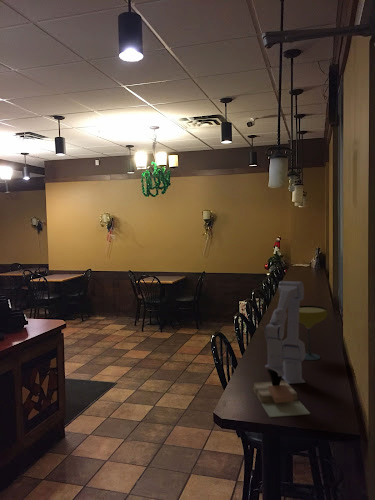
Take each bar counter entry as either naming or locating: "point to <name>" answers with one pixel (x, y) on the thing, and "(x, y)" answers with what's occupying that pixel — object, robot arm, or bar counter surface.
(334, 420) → the bar counter surface
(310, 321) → the cocktail glass
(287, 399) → the terracotta tile
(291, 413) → the sage mat
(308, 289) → the bar counter surface
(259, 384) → the birch deck
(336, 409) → the bar counter surface
